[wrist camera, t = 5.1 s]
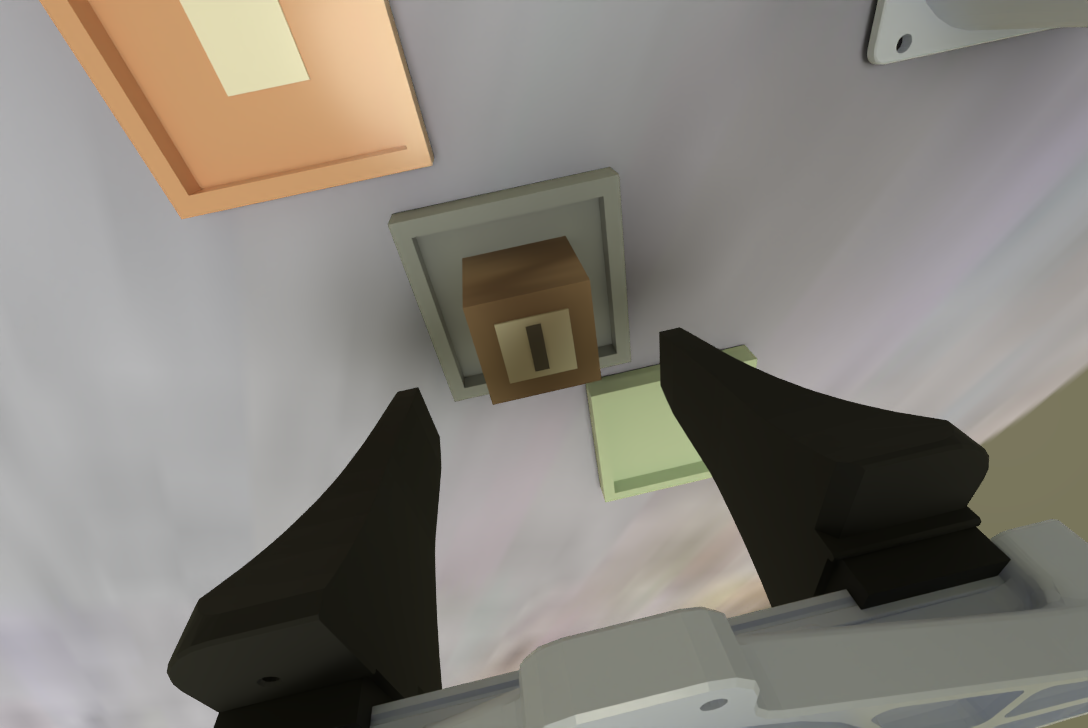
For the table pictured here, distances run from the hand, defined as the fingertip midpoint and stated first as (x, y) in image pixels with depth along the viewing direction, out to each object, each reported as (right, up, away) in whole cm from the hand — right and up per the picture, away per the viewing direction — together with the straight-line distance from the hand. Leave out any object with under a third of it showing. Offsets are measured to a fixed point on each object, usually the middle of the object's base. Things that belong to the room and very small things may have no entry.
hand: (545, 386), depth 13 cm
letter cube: (-1, +3, +5) cm, 6 cm away
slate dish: (-1, +4, +5) cm, 7 cm away
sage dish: (+7, -3, +11) cm, 13 cm away
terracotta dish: (-8, +10, 0) cm, 13 cm away
